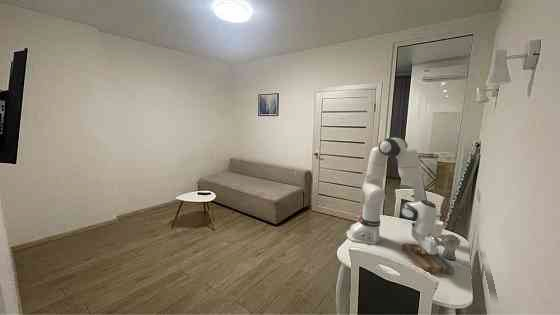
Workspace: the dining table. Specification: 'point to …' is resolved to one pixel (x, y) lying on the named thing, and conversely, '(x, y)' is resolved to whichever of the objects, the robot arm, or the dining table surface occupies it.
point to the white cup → (438, 228)
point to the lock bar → (417, 251)
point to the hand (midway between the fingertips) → (422, 252)
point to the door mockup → (428, 261)
